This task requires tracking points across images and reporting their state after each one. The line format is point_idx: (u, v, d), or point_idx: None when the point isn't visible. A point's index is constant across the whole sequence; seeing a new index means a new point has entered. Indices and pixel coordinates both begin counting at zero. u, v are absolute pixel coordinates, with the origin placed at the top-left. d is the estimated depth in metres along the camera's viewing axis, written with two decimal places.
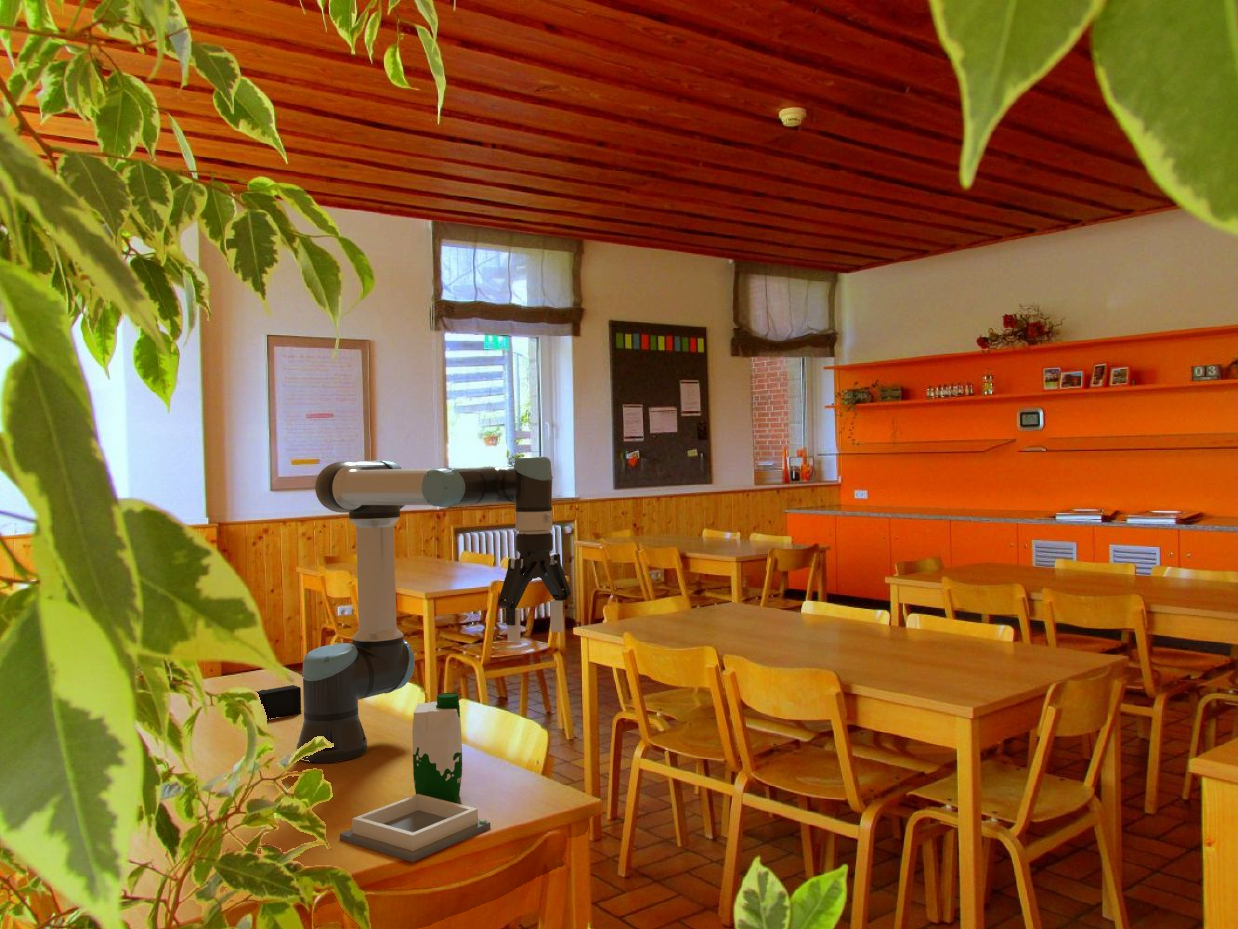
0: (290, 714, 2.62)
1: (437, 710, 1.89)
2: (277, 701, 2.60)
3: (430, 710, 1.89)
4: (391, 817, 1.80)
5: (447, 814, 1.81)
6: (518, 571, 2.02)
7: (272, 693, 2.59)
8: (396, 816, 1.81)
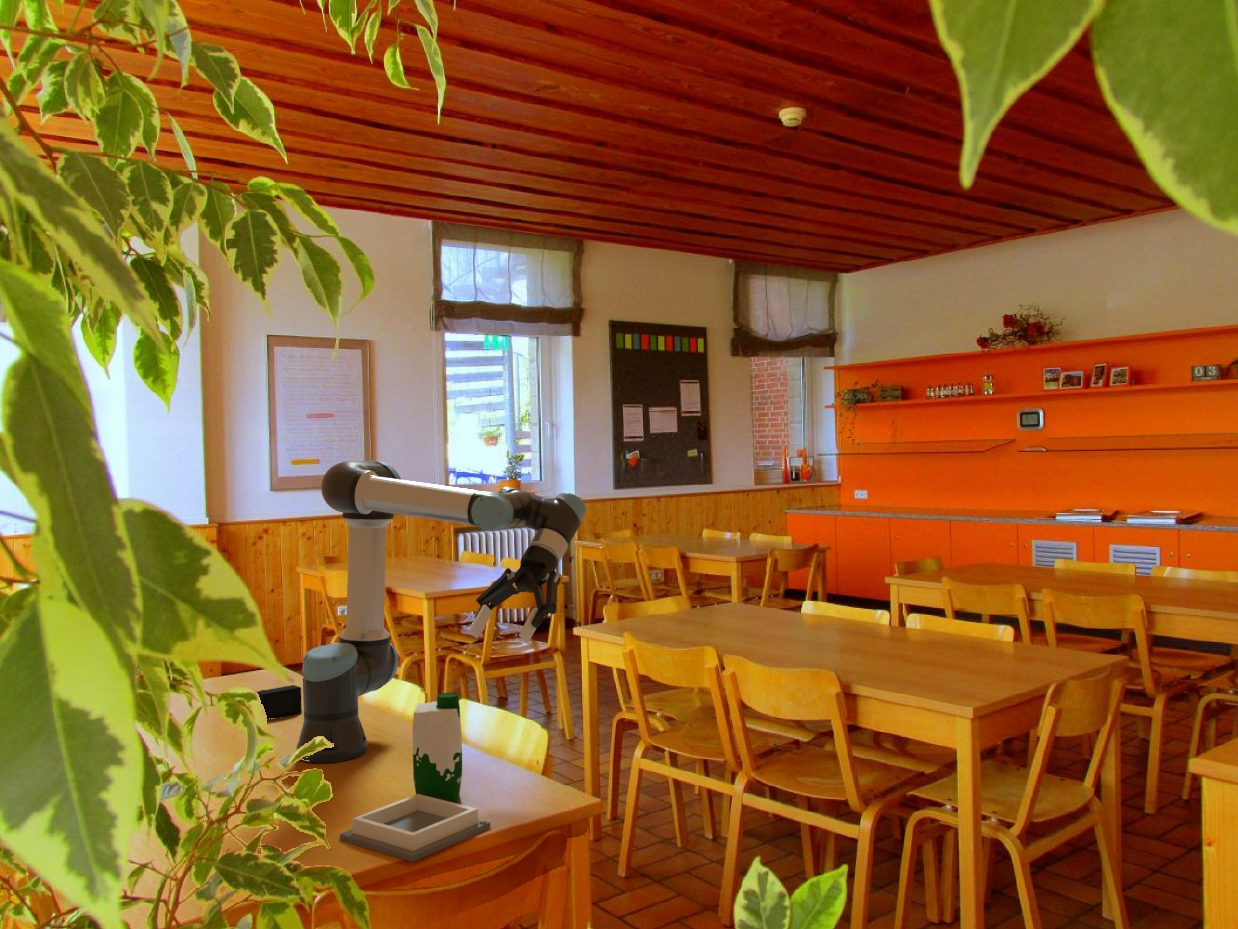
0: (290, 714, 2.62)
1: (437, 710, 1.89)
2: (277, 701, 2.60)
3: (430, 710, 1.89)
4: (391, 817, 1.80)
5: (447, 814, 1.81)
6: None
7: (273, 693, 2.59)
8: (396, 816, 1.81)
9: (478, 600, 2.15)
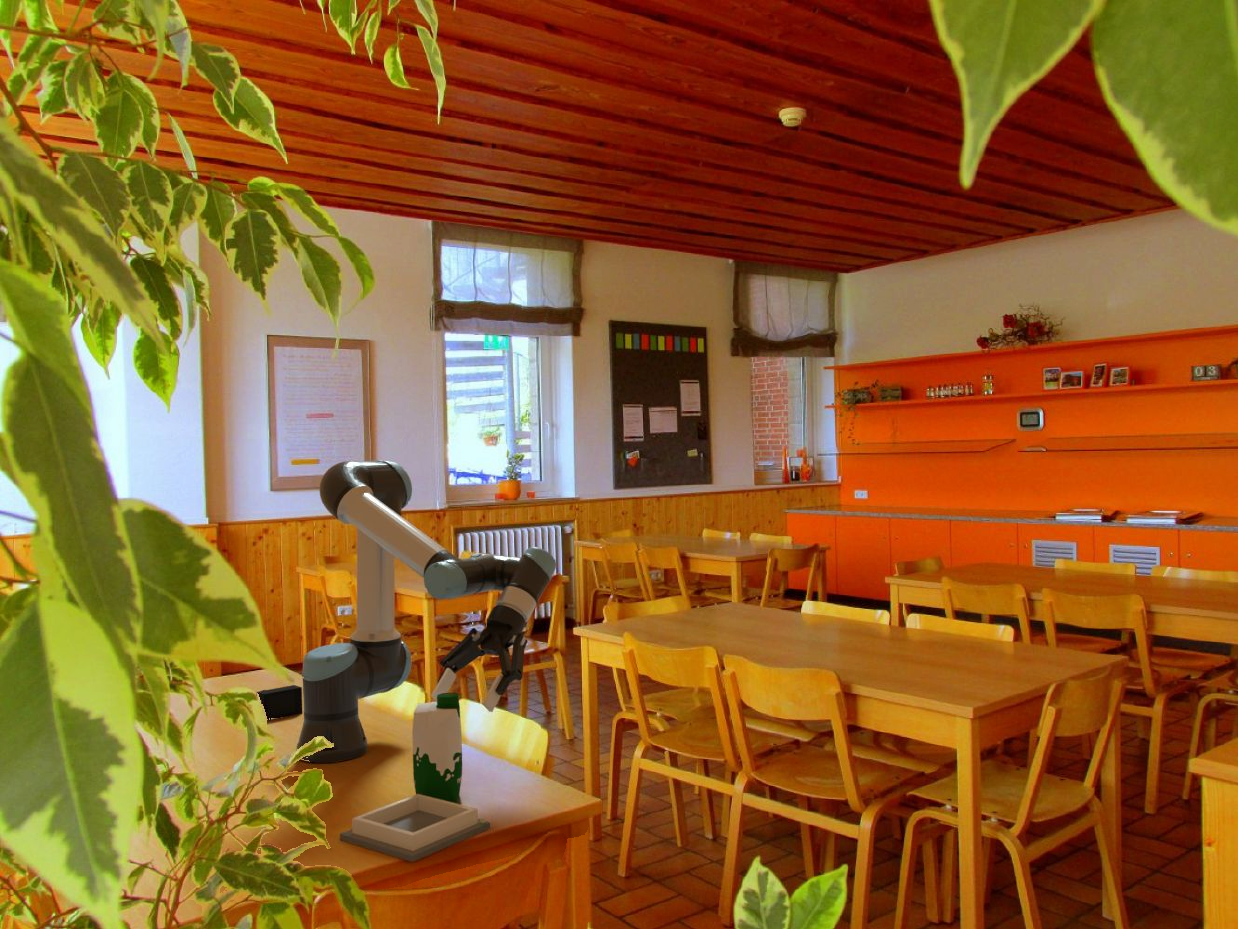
0: (291, 714, 2.63)
1: (437, 710, 1.89)
2: (278, 701, 2.60)
3: (430, 710, 1.89)
4: (391, 817, 1.80)
5: (447, 814, 1.81)
6: None
7: (274, 693, 2.59)
8: (396, 816, 1.81)
9: (442, 663, 2.05)
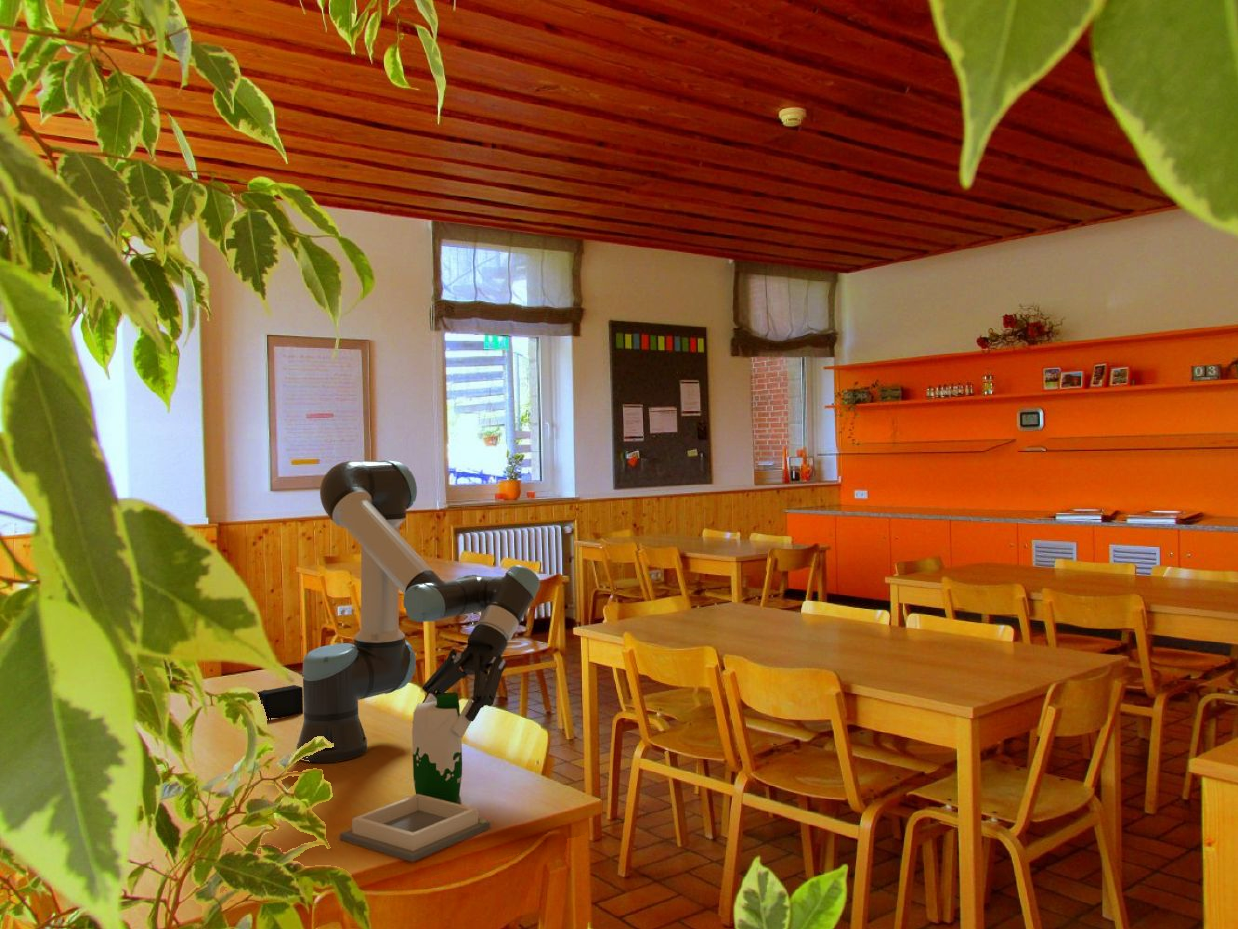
0: (292, 714, 2.63)
1: (437, 710, 1.89)
2: (279, 701, 2.60)
3: (430, 710, 1.89)
4: (391, 817, 1.80)
5: (447, 814, 1.81)
6: None
7: (275, 693, 2.59)
8: (396, 816, 1.81)
9: (425, 688, 2.01)
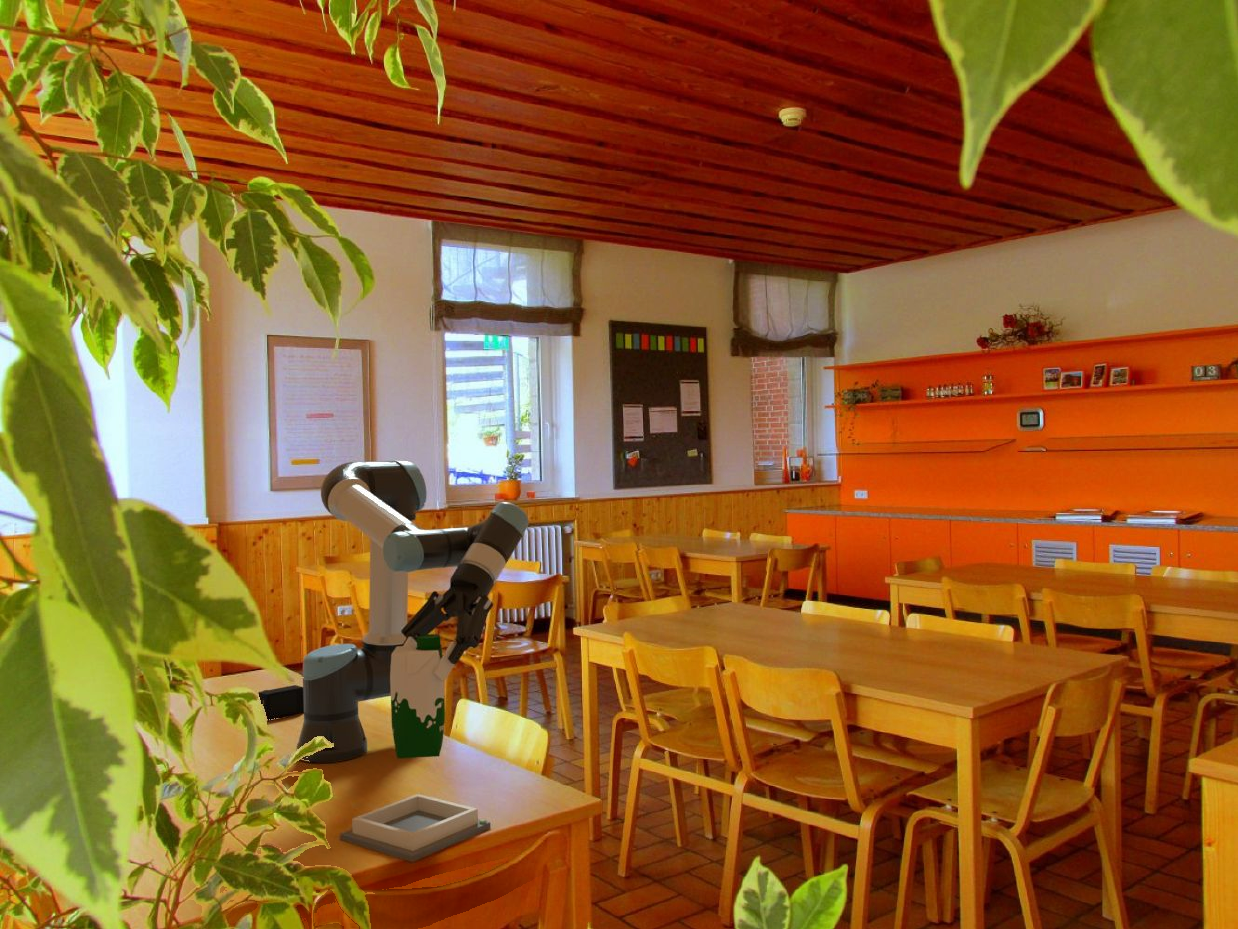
0: (293, 714, 2.63)
1: (417, 651, 1.74)
2: (281, 701, 2.60)
3: (409, 651, 1.74)
4: (391, 817, 1.80)
5: (447, 814, 1.81)
6: None
7: (276, 693, 2.59)
8: (396, 816, 1.81)
9: (404, 631, 1.85)
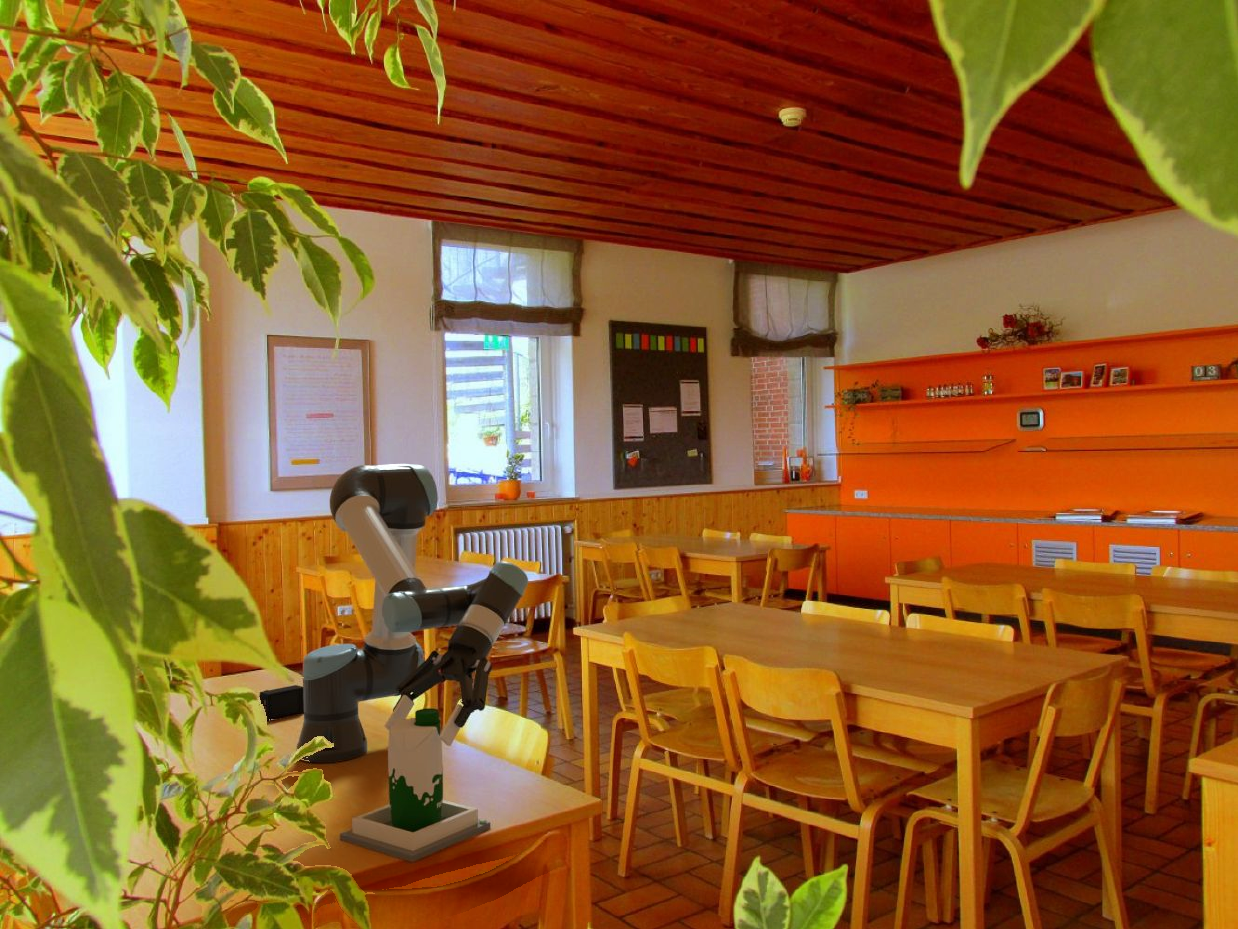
0: (294, 714, 2.63)
1: (415, 728, 1.73)
2: (282, 701, 2.60)
3: (407, 728, 1.73)
4: None
5: (447, 814, 1.81)
6: None
7: (277, 693, 2.59)
8: None
9: (398, 689, 1.86)
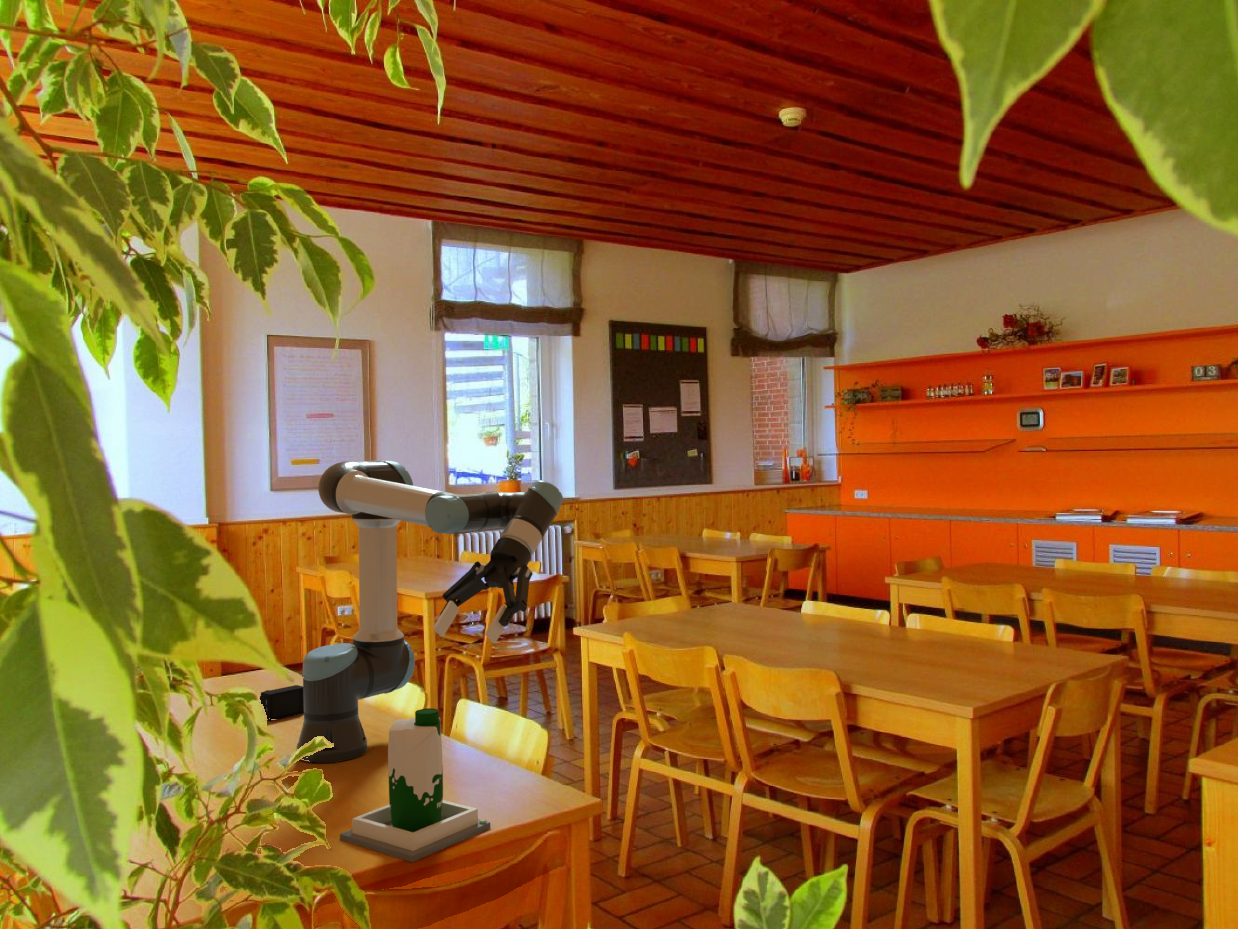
0: (296, 714, 2.63)
1: (415, 728, 1.73)
2: (283, 701, 2.60)
3: (407, 728, 1.73)
4: None
5: (447, 814, 1.81)
6: None
7: (279, 693, 2.59)
8: None
9: (444, 596, 2.00)
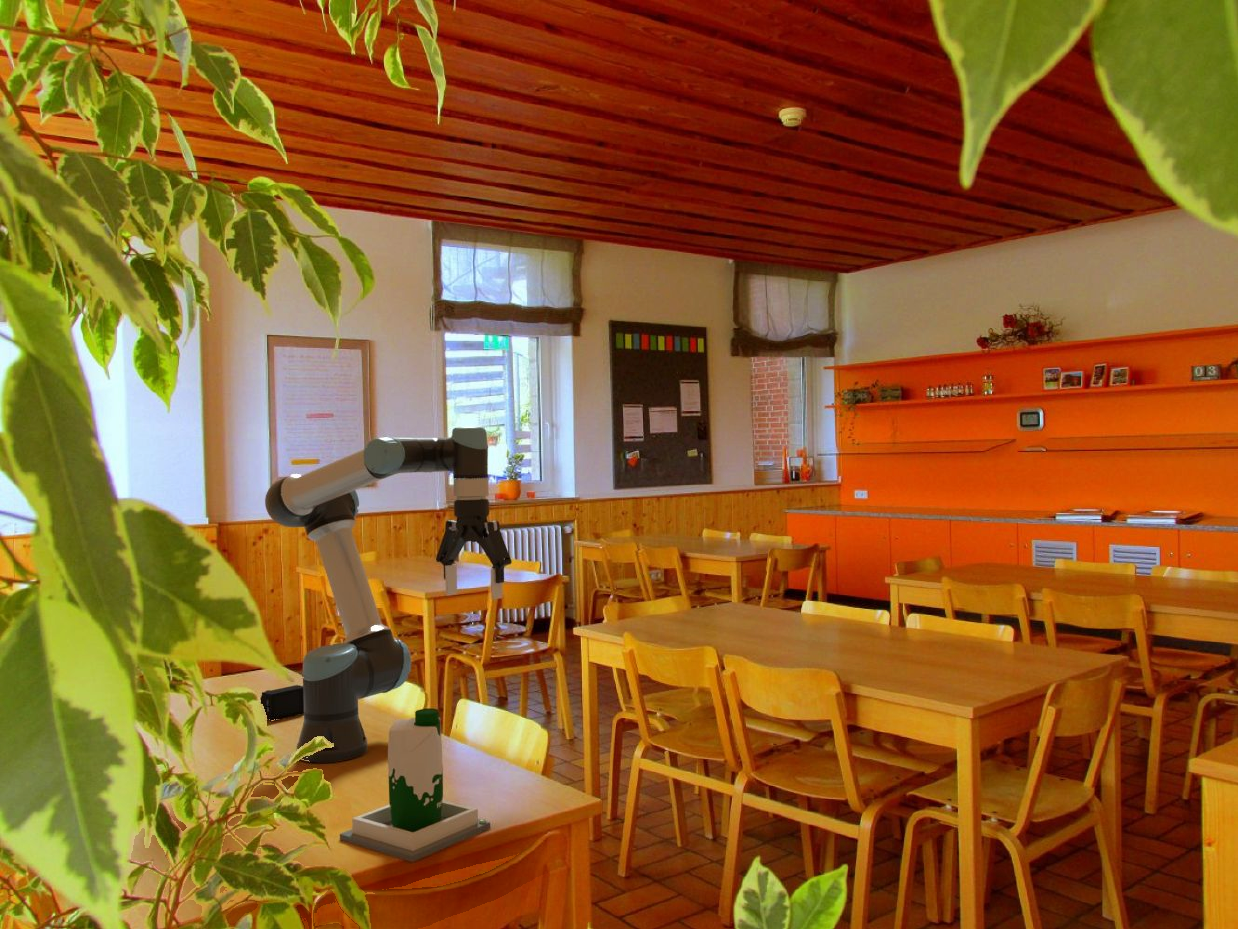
0: (297, 714, 2.63)
1: (415, 728, 1.73)
2: (284, 701, 2.60)
3: (407, 728, 1.73)
4: None
5: (447, 814, 1.81)
6: None
7: (280, 693, 2.59)
8: None
9: (438, 560, 2.25)
